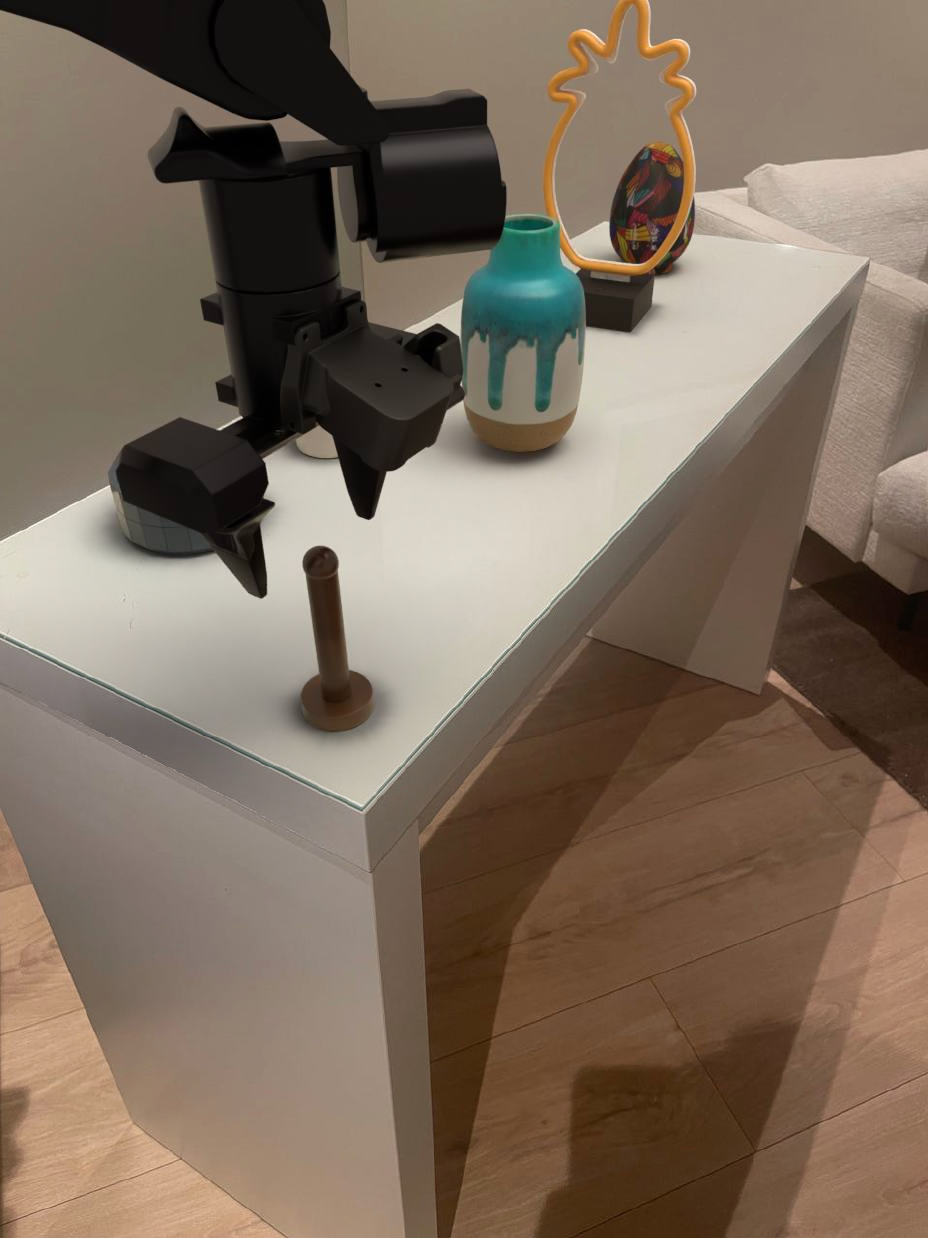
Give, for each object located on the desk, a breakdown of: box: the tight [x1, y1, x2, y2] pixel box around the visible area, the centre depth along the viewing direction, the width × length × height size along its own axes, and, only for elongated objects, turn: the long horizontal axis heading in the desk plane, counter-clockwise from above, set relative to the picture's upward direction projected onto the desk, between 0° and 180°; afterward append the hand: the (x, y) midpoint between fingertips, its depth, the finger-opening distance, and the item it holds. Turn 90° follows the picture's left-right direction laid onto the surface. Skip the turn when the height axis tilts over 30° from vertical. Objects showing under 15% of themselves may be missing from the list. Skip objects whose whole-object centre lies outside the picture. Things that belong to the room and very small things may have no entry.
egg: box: [608, 141, 696, 276], centre depth 120 cm, size 11×11×15 cm
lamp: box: [542, 0, 697, 333], centre depth 102 cm, size 17×9×32 cm, turn 66°
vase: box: [459, 213, 587, 453], centre depth 81 cm, size 11×11×19 cm
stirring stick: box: [300, 545, 375, 732], centre depth 55 cm, size 4×4×12 cm
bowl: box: [107, 459, 265, 556], centre depth 75 cm, size 11×11×5 cm
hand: (314, 554), depth 53 cm, fingers open, 9 cm apart
